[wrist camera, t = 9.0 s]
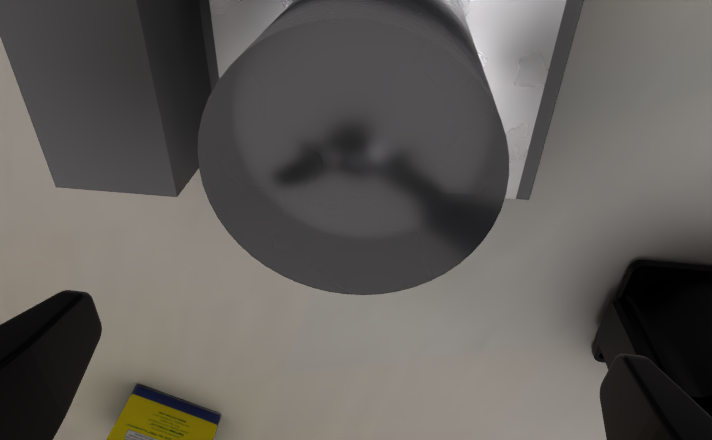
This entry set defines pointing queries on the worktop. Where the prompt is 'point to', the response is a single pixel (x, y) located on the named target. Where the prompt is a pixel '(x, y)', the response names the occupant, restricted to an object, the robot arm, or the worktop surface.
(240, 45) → the pan
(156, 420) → the supplement box
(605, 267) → the worktop surface
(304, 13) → the cylinder
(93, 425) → the worktop surface
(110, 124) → the dark grey u-shaped piece
